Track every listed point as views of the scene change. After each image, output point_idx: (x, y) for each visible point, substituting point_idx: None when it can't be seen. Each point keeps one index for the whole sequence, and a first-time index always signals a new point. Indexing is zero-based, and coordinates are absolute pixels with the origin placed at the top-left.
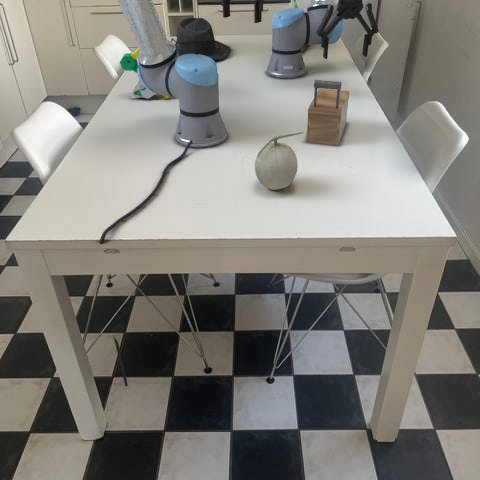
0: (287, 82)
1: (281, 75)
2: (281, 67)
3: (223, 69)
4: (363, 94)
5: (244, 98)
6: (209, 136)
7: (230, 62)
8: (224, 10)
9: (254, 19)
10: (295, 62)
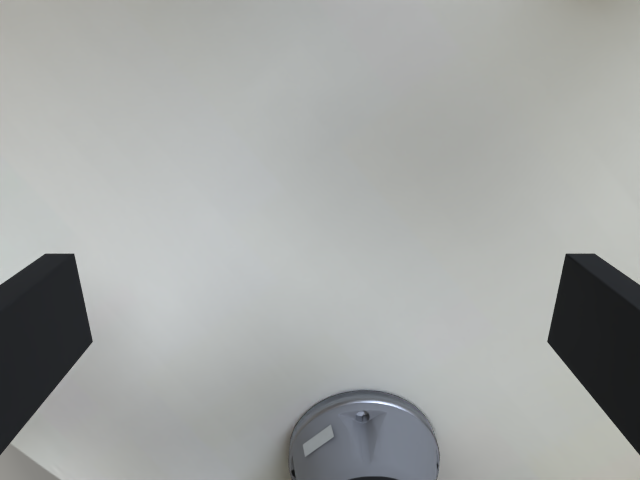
0: (290, 377)
1: (335, 402)
2: (341, 428)
3: None
4: None
5: (304, 136)
6: None
7: None
8: (621, 295)
9: (50, 271)
10: (302, 477)
